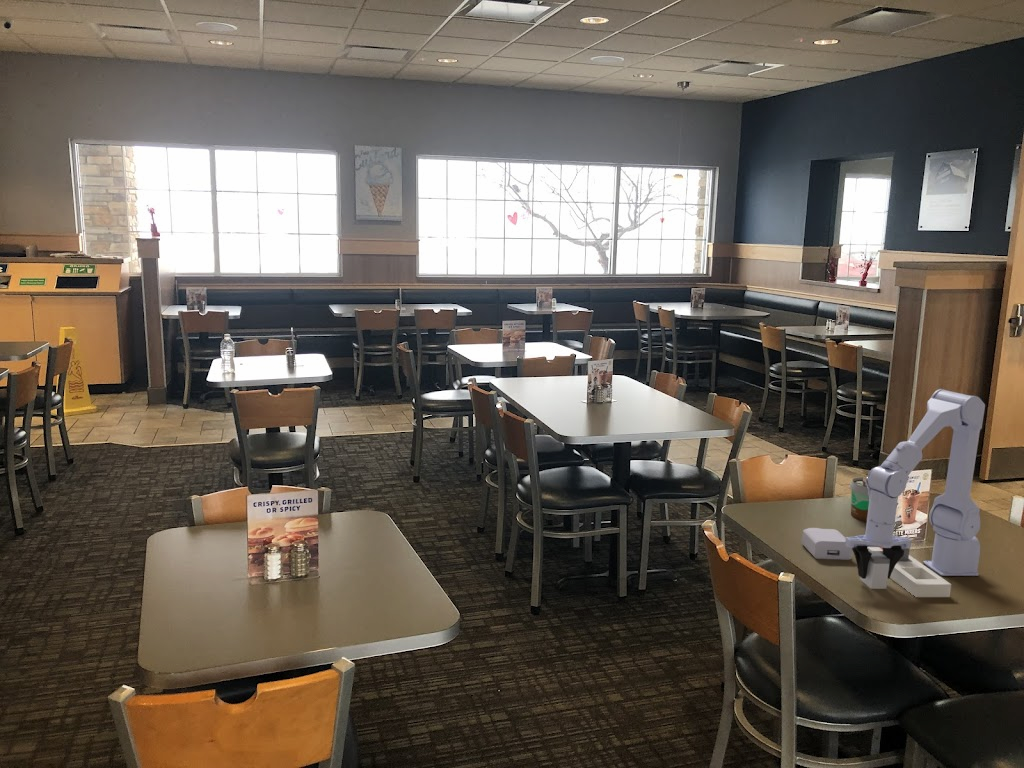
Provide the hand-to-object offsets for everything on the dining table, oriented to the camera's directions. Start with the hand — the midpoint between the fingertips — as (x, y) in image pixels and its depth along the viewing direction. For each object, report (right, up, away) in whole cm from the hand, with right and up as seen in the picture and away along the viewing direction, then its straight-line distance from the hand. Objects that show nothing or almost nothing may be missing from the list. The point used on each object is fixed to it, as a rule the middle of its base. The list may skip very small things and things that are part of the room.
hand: (873, 576), depth 189 cm
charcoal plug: (+9, 0, +10) cm, 14 cm away
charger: (-4, +2, +22) cm, 22 cm away
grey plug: (0, -2, 0) cm, 2 cm away
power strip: (+10, -1, +5) cm, 11 cm away
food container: (+16, +6, +46) cm, 49 cm away
